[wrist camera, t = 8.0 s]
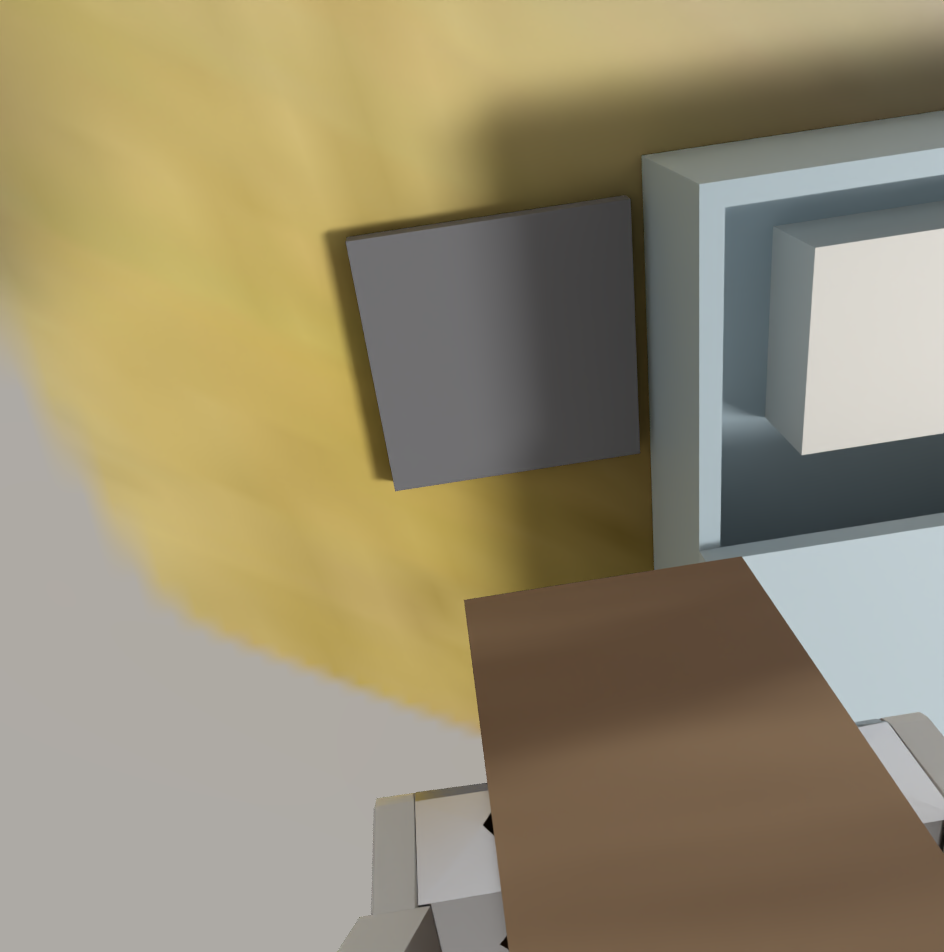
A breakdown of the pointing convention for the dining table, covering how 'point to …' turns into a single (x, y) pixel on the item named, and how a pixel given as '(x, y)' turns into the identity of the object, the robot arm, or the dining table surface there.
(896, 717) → the robot arm
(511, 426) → the pad
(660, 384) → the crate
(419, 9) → the dining table surface
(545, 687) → the walnut block
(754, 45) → the dining table surface
